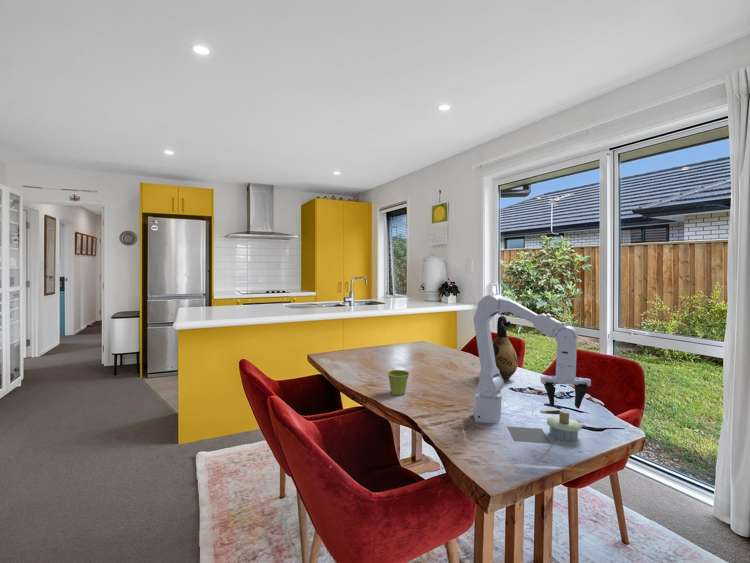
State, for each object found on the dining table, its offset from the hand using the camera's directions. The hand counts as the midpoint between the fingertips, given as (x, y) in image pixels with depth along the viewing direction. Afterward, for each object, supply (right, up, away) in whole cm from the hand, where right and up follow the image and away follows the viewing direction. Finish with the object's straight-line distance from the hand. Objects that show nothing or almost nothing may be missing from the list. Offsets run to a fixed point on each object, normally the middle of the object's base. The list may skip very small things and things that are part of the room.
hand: (564, 406), depth 128 cm
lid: (0, -6, 0) cm, 6 cm away
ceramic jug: (0, -7, +67) cm, 67 cm away
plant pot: (-50, -8, +42) cm, 66 cm away
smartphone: (+7, -10, +17) cm, 21 cm away
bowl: (0, -10, 0) cm, 10 cm away
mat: (-11, -10, +1) cm, 15 cm away
